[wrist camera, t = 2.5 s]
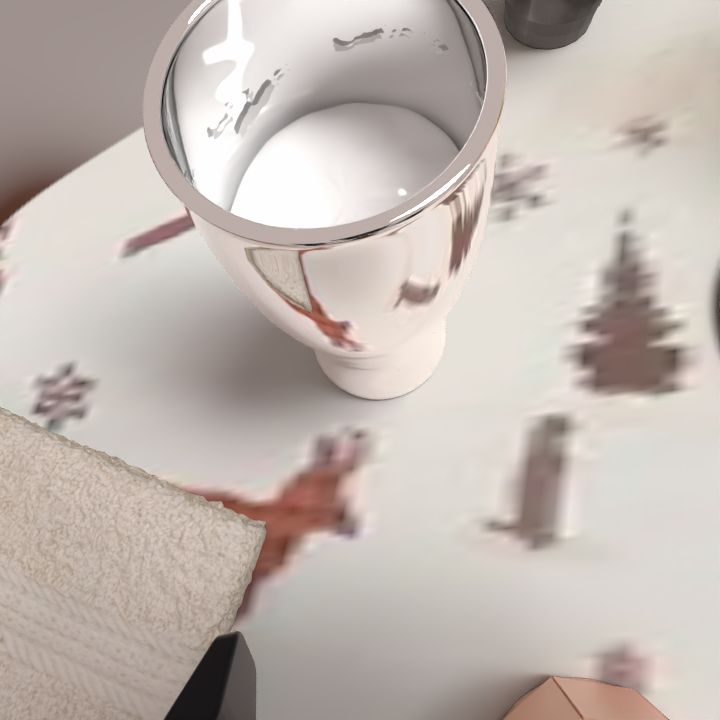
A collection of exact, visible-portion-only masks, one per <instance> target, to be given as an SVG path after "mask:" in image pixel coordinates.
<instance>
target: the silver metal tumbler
mask: <svg viewBox="0 0 720 720" xmlns="http://www.w3.org/2000/svg"><path fill="white" fill-rule="evenodd" d="M506 87H507V64H506V56H505V50H504V45H503V41H502V38H501V35H500V32H499V29H498V27H497V24H496V22H495V20H494V18H493V16H492V14H491V13H490V11H489V9H488V8H487V6H486V5H485V3H484V2H483V0H193V1H192V2H191V3H190V4H189V5H188V6H187V7H186V8H185V9H184V10H183V11H182V12H181V14H180V15H179V16H178V17H177V18H176V20H175V21H174V22H173V24H172V25H171V27H170V28H169V29H168V31H167V33H166V34H165V36H164V37H163V39H162V41H161V43H160V45H159V47H158V49H157V51H156V53H155V55H154V58H153V60H152V63H151V65H150V69H149V72H148V75H147V79H146V84H145V89H144V96H143V126H144V133H145V138H146V142H147V146H148V149H149V152H150V155H151V157H152V160H153V162H154V164H155V167H156V169H157V170H158V172H159V174H160V176H161V177H162V179H163V181H164V182H165V184H166V185H167V186H168V188H169V189H170V190H171V191H172V193H173V194H174V195H175V196H176V197H177V198H178V199H179V201H180V202H181V204H182V205H183V207H184V208H185V210H186V212H187V213H188V215H189V217H190V218H191V220H192V222H193V223H194V225H195V226H196V228H197V230H198V231H199V233H200V235H201V236H202V238H203V239H204V241H205V242H206V244H207V245H208V247H209V248H210V250H211V251H212V253H213V254H214V256H215V258H216V259H217V260H218V262H219V263H220V265H221V266H222V267H223V269H224V270H225V271H226V272H227V274H228V275H229V276H230V278H231V279H232V280H233V282H234V283H235V284H236V286H237V287H238V288H239V289H240V291H241V292H242V293H243V294H244V295H245V296H246V297H247V298H248V299H249V300H250V301H251V302H252V303H253V304H254V306H255V307H256V308H257V309H258V310H259V311H260V312H261V313H262V314H263V315H264V316H265V317H266V318H267V319H268V320H270V321H271V322H272V323H273V324H274V325H276V326H277V327H278V328H280V329H281V330H283V331H284V332H286V333H287V334H289V335H290V336H292V337H293V338H295V339H296V340H298V341H299V342H301V343H303V344H304V345H306V346H308V347H310V348H312V349H314V352H315V355H316V358H317V360H318V362H319V364H320V366H321V368H322V370H323V371H324V373H325V374H326V375H327V377H328V378H329V379H330V380H331V381H332V382H333V383H334V384H335V385H337V386H338V387H339V388H341V389H342V390H344V391H346V392H348V393H350V394H352V395H355V396H358V397H361V398H366V399H373V400H383V399H391V398H396V397H399V396H402V395H405V394H407V393H409V392H411V391H413V390H415V389H416V388H418V387H419V386H420V385H422V384H423V383H424V382H425V381H426V380H427V379H428V378H429V377H430V376H431V375H432V374H433V372H434V371H435V370H436V368H437V367H438V365H439V363H440V361H441V359H442V356H443V354H444V350H445V345H446V322H445V317H446V315H447V314H448V313H449V311H450V310H451V309H452V307H453V306H454V304H455V303H456V301H457V299H458V297H459V296H460V294H461V292H462V290H463V288H464V287H465V285H466V283H467V281H468V279H469V277H470V275H471V273H472V270H473V268H474V265H475V262H476V259H477V256H478V253H479V250H480V247H481V243H482V240H483V237H484V234H485V230H486V225H487V220H488V214H489V209H490V204H491V198H492V193H493V185H494V177H495V168H496V160H497V150H498V138H499V126H500V117H501V113H502V110H503V105H504V101H505V95H506Z"/></svg>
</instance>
